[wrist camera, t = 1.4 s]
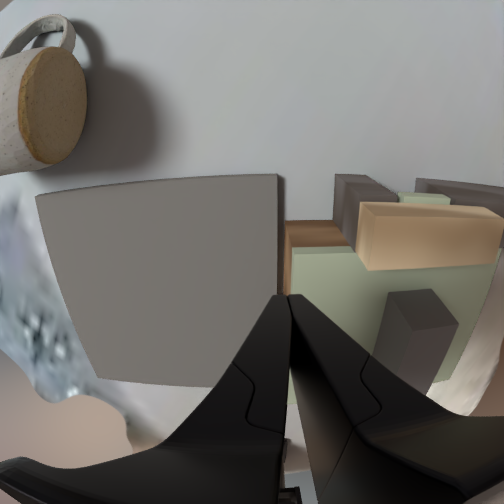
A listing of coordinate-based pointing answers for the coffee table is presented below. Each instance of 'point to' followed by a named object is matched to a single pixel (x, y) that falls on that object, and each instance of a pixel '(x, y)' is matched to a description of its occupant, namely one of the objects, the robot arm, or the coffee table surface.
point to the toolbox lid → (396, 306)
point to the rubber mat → (164, 271)
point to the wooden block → (426, 235)
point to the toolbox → (367, 190)
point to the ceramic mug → (40, 99)
